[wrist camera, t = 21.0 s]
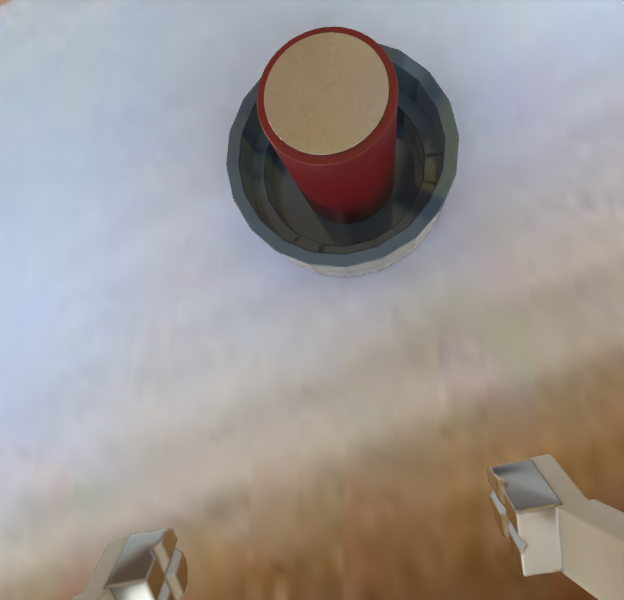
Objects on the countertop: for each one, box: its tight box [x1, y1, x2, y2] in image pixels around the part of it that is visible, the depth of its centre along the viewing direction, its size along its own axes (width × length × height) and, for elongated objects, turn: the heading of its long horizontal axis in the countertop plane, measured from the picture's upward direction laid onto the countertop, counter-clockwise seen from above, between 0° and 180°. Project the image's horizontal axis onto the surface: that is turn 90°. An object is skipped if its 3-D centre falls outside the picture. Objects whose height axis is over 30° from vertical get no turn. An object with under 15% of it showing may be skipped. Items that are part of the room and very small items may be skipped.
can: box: [257, 27, 398, 224], centre depth 26 cm, size 6×6×12 cm
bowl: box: [227, 44, 459, 277], centre depth 30 cm, size 14×14×6 cm
